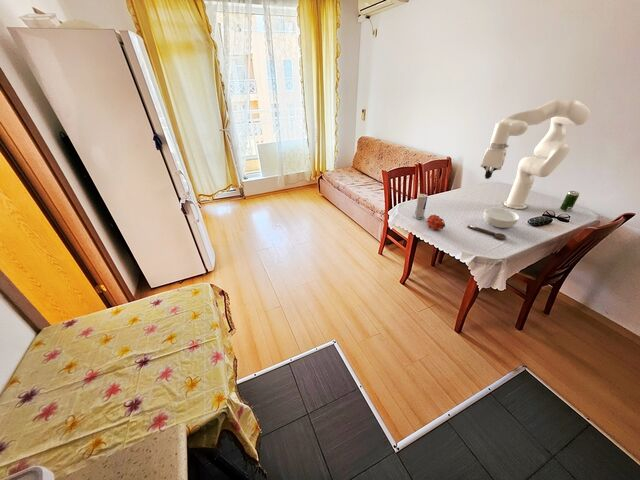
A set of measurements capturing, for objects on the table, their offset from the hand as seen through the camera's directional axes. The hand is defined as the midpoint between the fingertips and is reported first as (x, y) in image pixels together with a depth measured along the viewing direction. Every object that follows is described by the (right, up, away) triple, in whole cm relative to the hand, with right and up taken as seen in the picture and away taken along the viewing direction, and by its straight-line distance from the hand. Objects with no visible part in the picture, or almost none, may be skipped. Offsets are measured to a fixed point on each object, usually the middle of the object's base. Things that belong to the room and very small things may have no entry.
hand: (487, 178), depth 149 cm
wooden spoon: (-6, -33, -9) cm, 35 cm away
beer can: (+56, -18, +10) cm, 59 cm away
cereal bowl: (+5, -28, -1) cm, 29 cm away
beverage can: (-37, -23, +11) cm, 44 cm away
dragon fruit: (-32, -30, -1) cm, 44 cm away
